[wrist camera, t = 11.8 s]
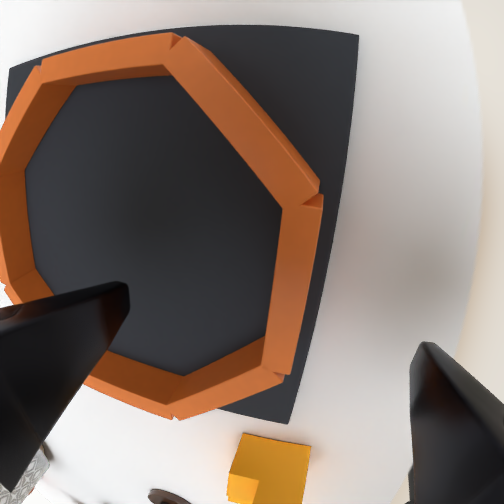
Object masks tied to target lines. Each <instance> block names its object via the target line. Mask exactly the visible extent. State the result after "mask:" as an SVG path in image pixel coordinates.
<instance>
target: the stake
mask: <svg viewBox="0 0 504 504" xmlns="http://www.w3.org/2000/svg"><path fill="white" fill-rule="evenodd" d="M148 498H149V500H150V501H151V502H153V503H154V504H190V503H189V502H187V501H186V500H184V499H182V498H180V497H178V496H176V495H174V494H172V493H169V492H166V491H162V490H157V489H153V490H151V491H150V493H149V495H148Z"/></svg>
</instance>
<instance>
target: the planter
mask: <svg viewBox="0 0 504 504" xmlns="http://www.w3.org/2000/svg"><path fill="white" fill-rule="evenodd" d="M49 465H50V464H49V462H48V460H47V458H46V456H45V455H44V448H43V446H42V445H41V447H40V448H39V450H38V452H37V453H36V455H35V456H34V458H33V459H32V461H31V463H30V464H29V466H28V467H27V469H26V471H25V472H24V474H23V476H22V477H21V479H20V481H19V482H18V484H17V486H16V487H15V489H14V490H13V491H12V493H10V492H9V491H8V490H7V489H5V488H4V487H3V486H2V485H1V484H0V504H21V503H22V502H23V500H24V499H25V498H26V497H27V495H28V494H29V493H30V491H31V490H32V489H33V487H34V486H35V485H36V484H37V482H38V481H39V480H40V478H41V477H42V476H43V474H44V473H45V472H46V471H47V469H48V468H49Z"/></svg>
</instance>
